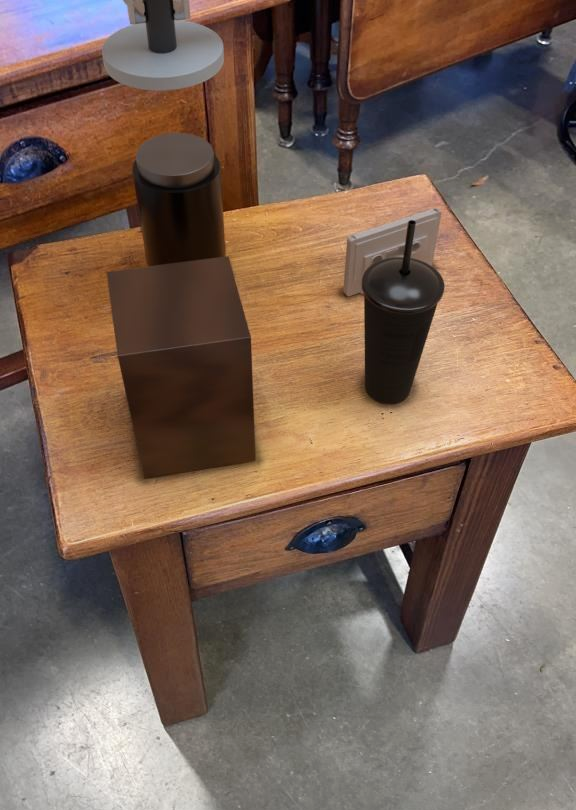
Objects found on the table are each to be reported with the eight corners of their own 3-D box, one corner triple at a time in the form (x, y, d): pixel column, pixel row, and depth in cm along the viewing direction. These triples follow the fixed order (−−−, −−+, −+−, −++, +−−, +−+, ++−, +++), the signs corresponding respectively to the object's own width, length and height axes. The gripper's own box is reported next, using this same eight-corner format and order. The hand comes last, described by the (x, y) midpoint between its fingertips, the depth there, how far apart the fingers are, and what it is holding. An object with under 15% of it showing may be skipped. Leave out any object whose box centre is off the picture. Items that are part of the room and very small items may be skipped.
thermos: (154, 306, 95) (134, 183, 82) (145, 257, 100) (125, 134, 88) (233, 295, 96) (226, 172, 83) (220, 247, 101) (211, 125, 89)
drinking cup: (424, 365, 89) (455, 199, 73) (423, 417, 85) (457, 252, 69) (353, 359, 90) (369, 193, 74) (349, 411, 85) (365, 246, 69)
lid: (109, 96, 74) (96, 22, 69) (99, 38, 80) (87, -34, 75) (233, 84, 75) (229, 10, 70) (214, 27, 81) (209, -44, 76)
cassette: (348, 300, 96) (353, 243, 89) (340, 290, 97) (344, 234, 90) (434, 269, 99) (445, 213, 93) (426, 261, 100) (435, 204, 94)
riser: (144, 478, 80) (117, 356, 67) (132, 397, 86) (106, 271, 73) (255, 460, 81) (251, 337, 68) (236, 382, 88) (228, 255, 75)
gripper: (0, -152, 60) (44, 46, 71) (275, -169, 63) (276, 24, 74) (-1, -179, 64) (41, 13, 75) (259, -194, 67) (262, -6, 78)
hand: (160, 19), depth 75 cm, fingers closed on lid, 2 cm apart
